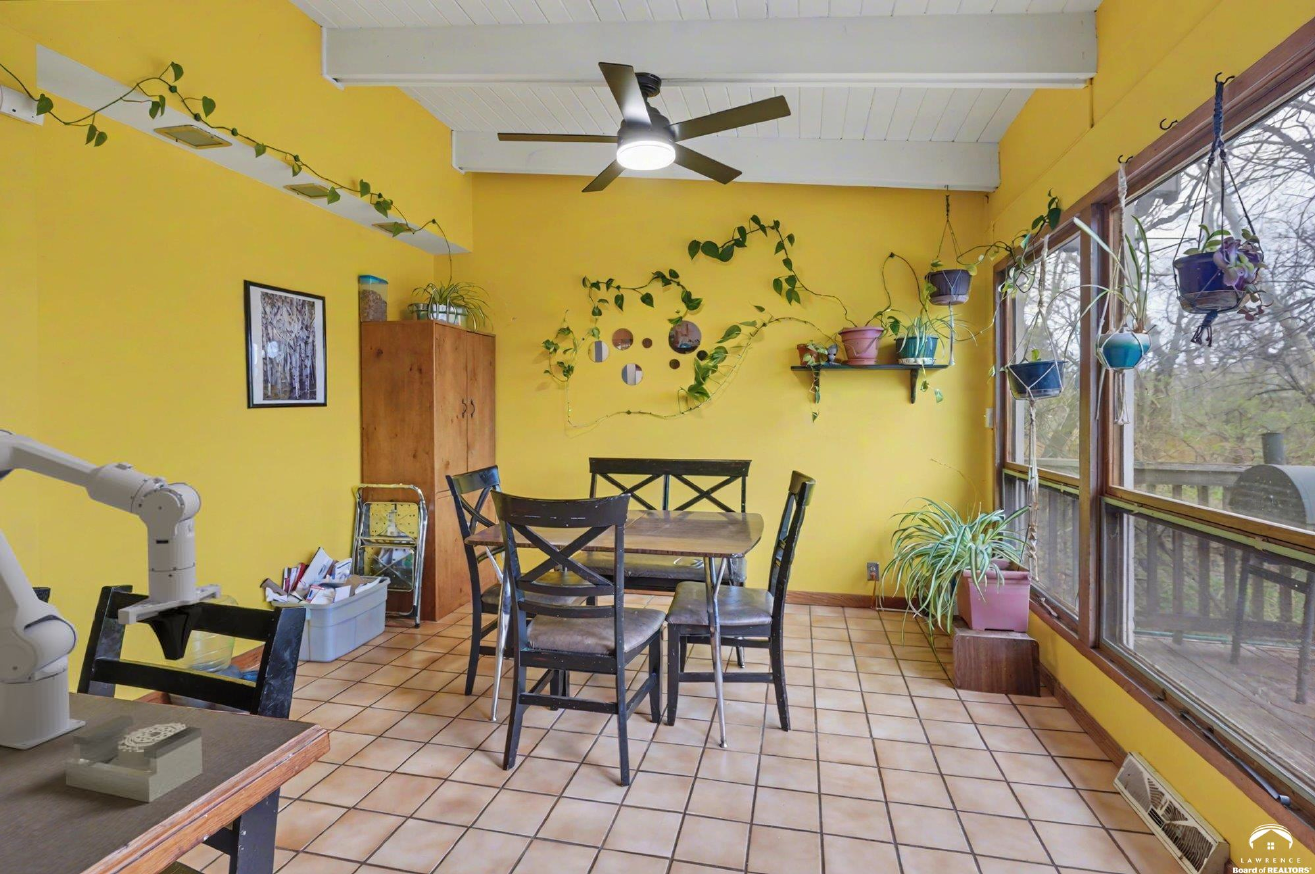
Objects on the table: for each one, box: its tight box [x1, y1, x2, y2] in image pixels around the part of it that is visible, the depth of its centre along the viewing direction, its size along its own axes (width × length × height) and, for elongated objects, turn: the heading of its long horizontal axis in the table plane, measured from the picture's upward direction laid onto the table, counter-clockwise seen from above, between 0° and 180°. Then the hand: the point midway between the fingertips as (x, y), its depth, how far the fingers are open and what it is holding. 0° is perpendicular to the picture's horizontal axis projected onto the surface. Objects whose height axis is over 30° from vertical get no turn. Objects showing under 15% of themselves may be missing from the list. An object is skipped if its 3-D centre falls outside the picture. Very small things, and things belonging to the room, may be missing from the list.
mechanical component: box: [108, 722, 187, 772], centre depth 91 cm, size 10×4×10 cm
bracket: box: [64, 715, 203, 803], centre depth 88 cm, size 14×7×6 cm, turn 74°
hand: (174, 658), depth 103 cm, fingers closed
